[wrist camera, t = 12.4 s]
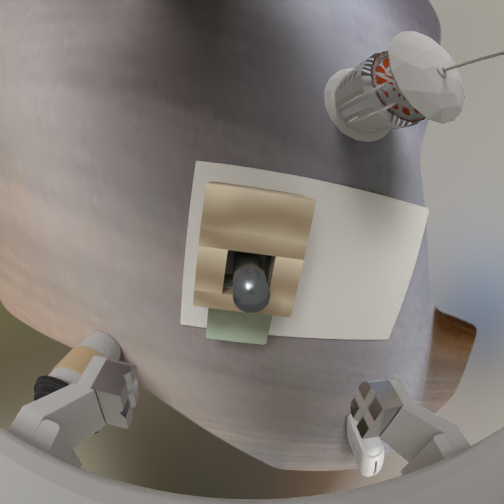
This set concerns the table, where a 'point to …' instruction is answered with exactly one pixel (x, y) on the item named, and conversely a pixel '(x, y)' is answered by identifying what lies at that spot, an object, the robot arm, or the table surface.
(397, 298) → the mat
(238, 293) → the pin
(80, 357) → the coffee cup
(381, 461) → the white rounded slab
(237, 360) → the table surface
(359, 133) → the french press
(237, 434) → the table surface
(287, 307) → the clevis
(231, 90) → the table surface
